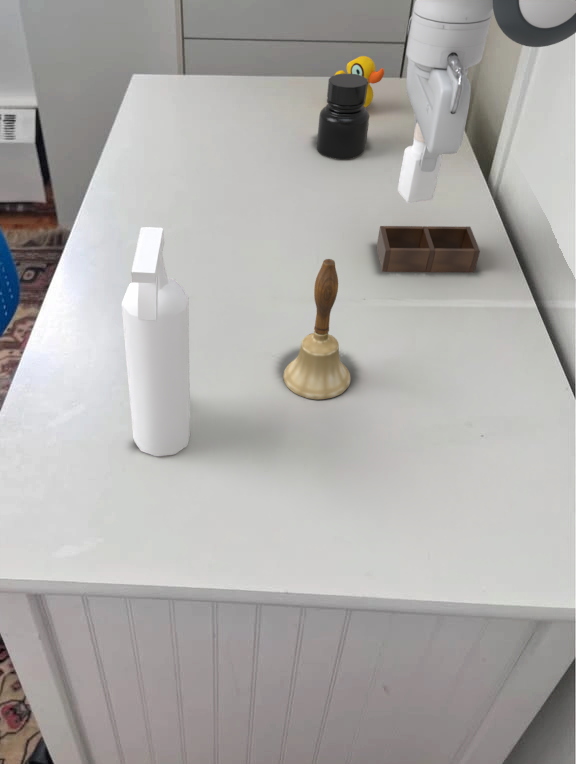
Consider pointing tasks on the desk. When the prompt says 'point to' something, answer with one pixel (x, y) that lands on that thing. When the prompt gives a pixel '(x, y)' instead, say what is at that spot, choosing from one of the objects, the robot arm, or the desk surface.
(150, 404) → the white spray bottle
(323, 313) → the hand bell
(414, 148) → the pepper shaker
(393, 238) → the holder
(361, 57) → the duckling
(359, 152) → the ink bottle
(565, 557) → the desk surface
